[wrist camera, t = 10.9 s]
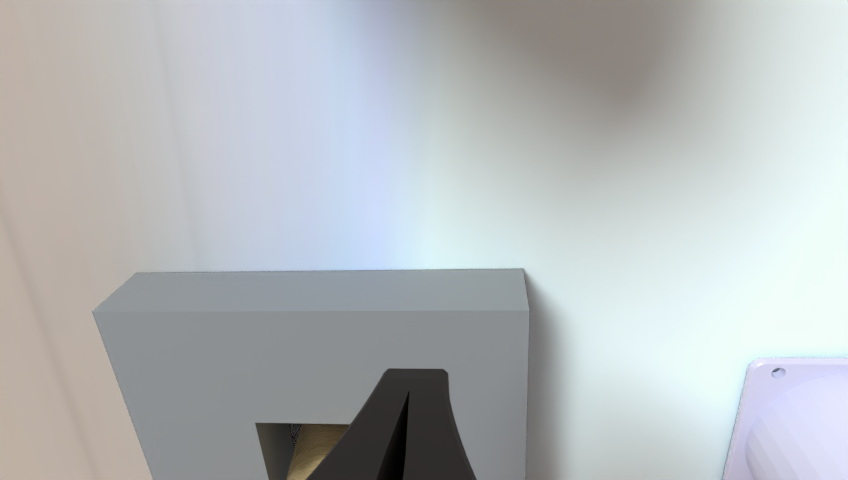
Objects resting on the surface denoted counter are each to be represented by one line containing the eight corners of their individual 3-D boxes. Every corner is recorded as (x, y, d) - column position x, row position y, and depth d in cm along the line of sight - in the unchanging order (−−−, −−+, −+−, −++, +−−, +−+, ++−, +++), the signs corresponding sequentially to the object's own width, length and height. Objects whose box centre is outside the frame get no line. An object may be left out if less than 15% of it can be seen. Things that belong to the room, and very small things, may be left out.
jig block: (523, 268, 22) (529, 310, 19) (518, 545, 29) (522, 604, 26) (136, 272, 24) (91, 311, 21) (218, 533, 30) (192, 588, 28)
